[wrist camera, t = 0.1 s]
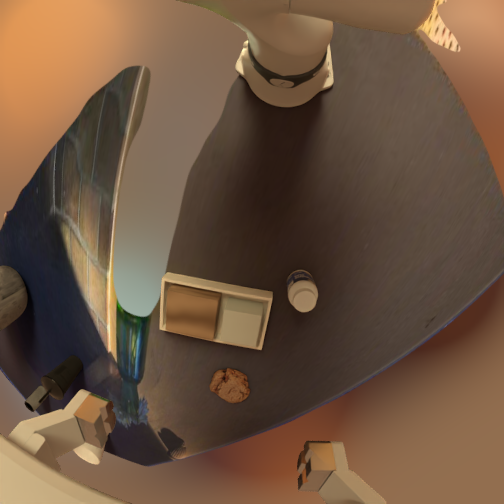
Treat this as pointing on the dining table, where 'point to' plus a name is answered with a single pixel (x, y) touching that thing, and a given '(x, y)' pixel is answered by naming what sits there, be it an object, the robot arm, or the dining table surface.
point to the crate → (227, 292)
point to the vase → (11, 296)
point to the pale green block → (241, 321)
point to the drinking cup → (61, 378)
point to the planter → (35, 399)
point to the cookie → (230, 385)
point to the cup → (90, 453)
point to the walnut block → (192, 311)
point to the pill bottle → (302, 290)
